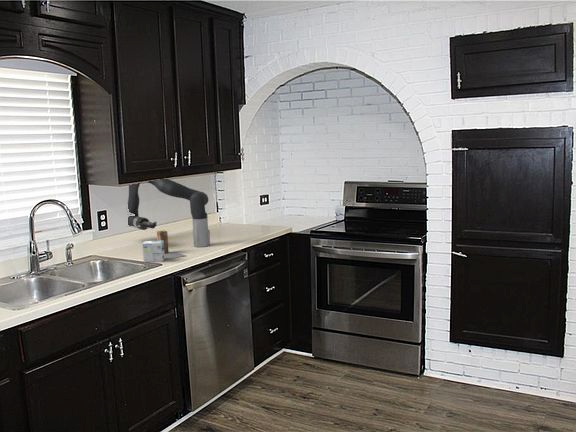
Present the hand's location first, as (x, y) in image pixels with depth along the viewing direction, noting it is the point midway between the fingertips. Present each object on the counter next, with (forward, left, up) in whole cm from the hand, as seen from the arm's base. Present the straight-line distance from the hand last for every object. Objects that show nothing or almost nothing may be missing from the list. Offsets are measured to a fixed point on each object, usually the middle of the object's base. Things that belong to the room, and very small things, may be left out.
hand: (153, 226), depth 337 cm
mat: (0, +21, -15) cm, 26 cm away
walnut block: (0, +11, -15) cm, 18 cm away
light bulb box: (+12, +25, -15) cm, 32 cm away
